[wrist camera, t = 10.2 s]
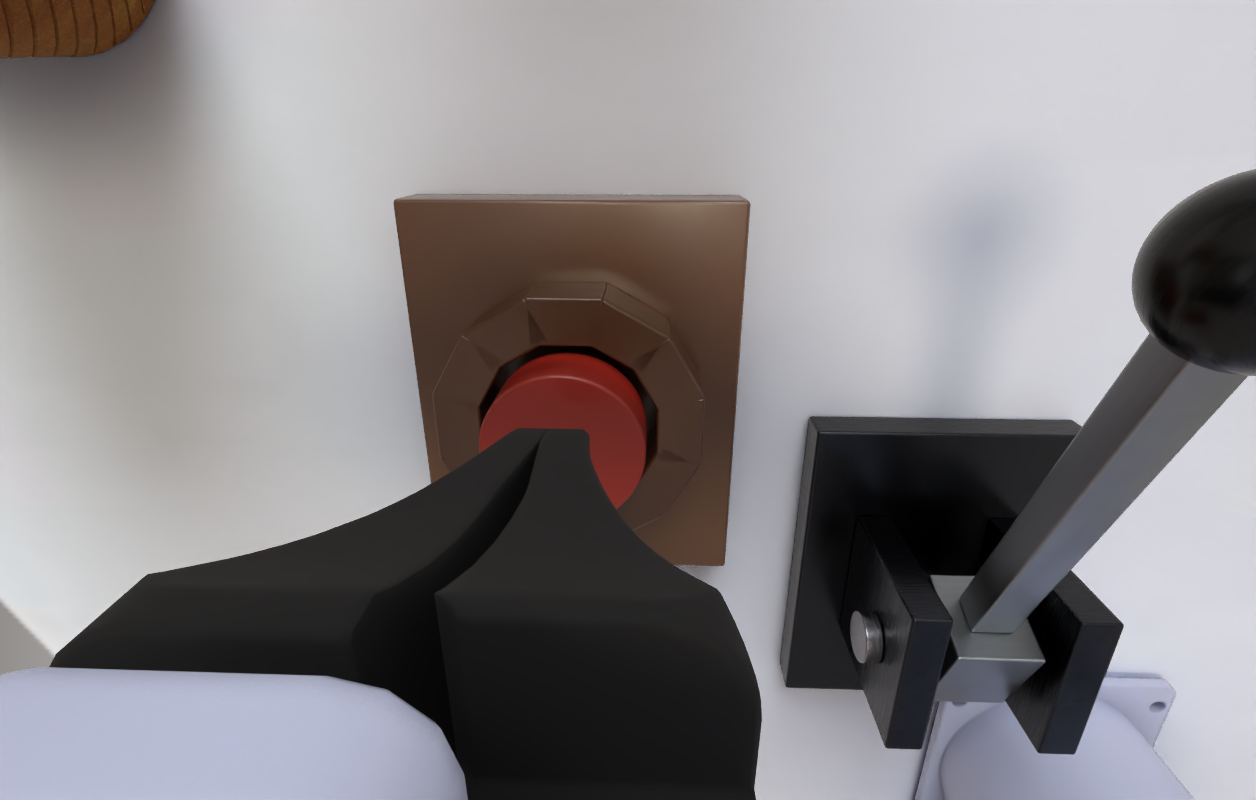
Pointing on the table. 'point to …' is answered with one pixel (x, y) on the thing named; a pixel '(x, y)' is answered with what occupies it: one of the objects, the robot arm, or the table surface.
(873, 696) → the bracket
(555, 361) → the button
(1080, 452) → the lever
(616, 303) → the button block
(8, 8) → the disposable coffee cup
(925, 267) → the table surface
